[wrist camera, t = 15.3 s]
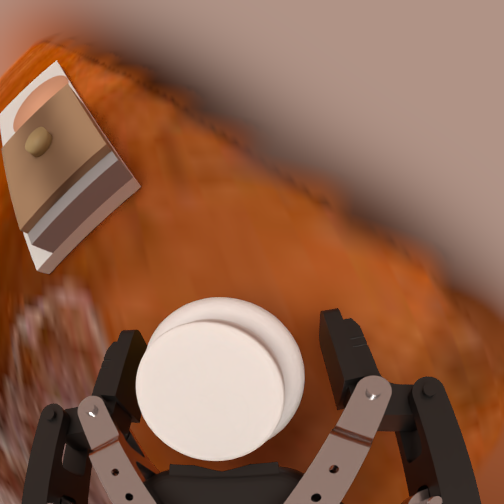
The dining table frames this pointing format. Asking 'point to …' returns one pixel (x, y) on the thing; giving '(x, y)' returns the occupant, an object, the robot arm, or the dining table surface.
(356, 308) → the dining table surface
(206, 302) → the supplement bottle
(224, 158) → the dining table surface
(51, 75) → the board
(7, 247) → the dining table surface
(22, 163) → the cover
